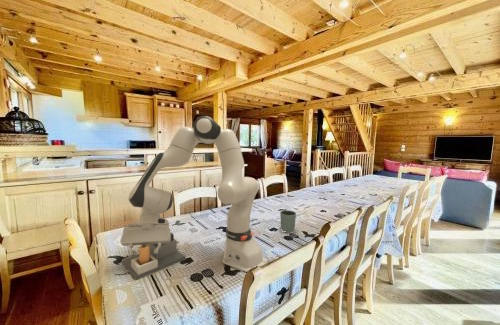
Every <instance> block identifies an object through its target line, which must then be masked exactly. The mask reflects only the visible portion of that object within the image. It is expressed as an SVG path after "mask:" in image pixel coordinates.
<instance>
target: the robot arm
mask: <svg viewBox="0 0 500 325" xmlns="http://www.w3.org/2000/svg"><path fill="white" fill-rule="evenodd" d="M238 140H239V139H238V137H237V135H236V133H235V131H233V129H230V128H225V129H224V128H223V129H222V128H221V126H220V125H219V124H218V123H217V122H216V121H215V119H213V118H212V117H210V116H207V115H201V116H199V117H197V118H196V119H195V121H194V122H193V127H189V126H181V127H180V128H178V130H177V131H176V133H175V134H174V135H173V138H172V140H171V142H170V144H169V146H168V147H167V149H165V150H164V151H163V152H159V153H158V154H156V156H155V157H154V158H153V159H152V161H151V162H150V164H149V165H148V167H147V168H146V170H145V171H144V173H143V174H142V176H141V177H140V179H139V180H138V181H137V183H136V184H135V185H134V187H133V188H132V189H131V190H130V192H129V196H128V201H129V204H131V205H132V207H134V208H141V214H140V215H139V220H138V223H136V224H135V223H134V224H132V223H131V224H127V225H125V226H124V227H123V229H122V235H121V237H120V244H121V246H123V247H128V249H129V257H131V256H134V255H135V253H136V251H135V250H133V248H134V246H142V244H146V245H149V244H158V247H157V248H156V249H154V254H158V250H159V249H160V247H161V246H162V244H164V243H169V242H170V240H171V233H172V232H171V229H170V222H169V220H168V219H167V218H162V217H161V214H164V213H165V212H167V211H169V210H170V209H171V208H172V207H173V202H174V197H173V194H172V192H170V191H168V190H164V189H161V188H156V187H152V186H150V185H151V183H152V182H153V180H154V178H155V177H156V175H157V174H158V172H159V171H160V170H161V169H164V168H178V167H182V166H185V165H186V164H188V163H189V161H190V160H191V157H192V155H193V153H194V150H195V148H196V146H197V145H206V146H207V145H208V146H209V145H213V144H215V146H216V147H215V148H216V149H217V153H218V158H219V162H220V166H221V180H220V184H219V186H218V188H217V192H216V194H217V197H218V200H219V201H220V202H221V203H222V204H224V205H231V206H230V208H229V210H228V212H227V218H226V222H227V223H226V224H227V225H226V229H225V237H226V239H225V243H224V251H223V254H222V260H221V263H222V264H225V265H227V266H228V267H231V268H234V269H236V270H238V271H241V272H243V271H245V272H244V273H246V272H247V271H248V270H249V269H251V268H253V267H256V266H261V265H264V264H266V263H267V264H268V259H267V258H266V257H265V256H263V250H262V248H261V246H260V245H259V244H258V242H256V240H255V239H254V238H253V235H254V234H255V232H252V231H251V227H250V226H251V225H250V224H251V214H252V213H251V211H252V207H253V204H254V200H255V198H256V196H257V193H258V191H259V189H260V188H259V187H260V185H259V182H258V180H257V179H255V178H253V177H250V176H243V177H242V175H243V167H244V165H245V160H244V156H243V153H242V149H241V145H240V143H239V141H238ZM170 232H171V233H170ZM267 264H266V265H267Z"/></svg>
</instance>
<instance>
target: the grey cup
mask: <svg viewBox="0 0 500 325" xmlns="http://www.w3.org/2000/svg"><path fill="white" fill-rule="evenodd" d="M296 218H297V213H296V211H293V210H288V209H286V210H280V230H281V229H282V230H283V231H286V232H293V231H294V232H295V229H296V227H295V226H296ZM294 232H293V233H294Z"/></svg>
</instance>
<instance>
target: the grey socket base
mask: <svg viewBox="0 0 500 325" xmlns="http://www.w3.org/2000/svg"><path fill="white" fill-rule="evenodd" d="M170 233H171V240H170V242H169V243H164V244H162V246H161V247H160V249H159V250H158V254H154V249H156V248H157V247H158V244H149V259H150V262H148V263H145V264H143V265H139V253H137V254H134V256H129V257H126V258H123V259H121V263H122V265H123V266H124V267H125V268H126V270H127V271H128V273H130V275H131V276H132V277H133V278H134V279H135V280H136V281H137V280H139V279H140V280H141V279H142V278H144V277H147V276H149V275H152V274H154V273H157V272H159V271H161V270H163V269H165V268H168V267H170V266H172V265H175V264H177V263H180V262H182V261H184V260H186V255H184V254H183V253H182V252H180V251H179V250H178V249H177V242H178V241H177V239H176V238H175V236H174V233H172V232H171V231H170Z"/></svg>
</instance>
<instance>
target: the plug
mask: <svg viewBox="0 0 500 325" xmlns="http://www.w3.org/2000/svg"><path fill="white" fill-rule="evenodd" d="M138 254H139V265H143V264H145V263H148V262H150V259H149V245H146V244H142V245H139V247H138Z"/></svg>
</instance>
